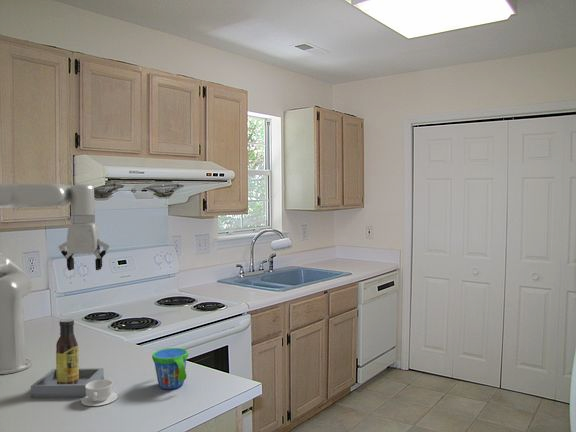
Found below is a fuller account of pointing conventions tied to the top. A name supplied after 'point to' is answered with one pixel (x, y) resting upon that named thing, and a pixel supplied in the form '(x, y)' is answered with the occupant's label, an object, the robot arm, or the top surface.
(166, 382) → the snack cup
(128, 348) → the top surface
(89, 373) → the tray
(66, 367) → the sauce bottle
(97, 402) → the teacup
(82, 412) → the top surface
